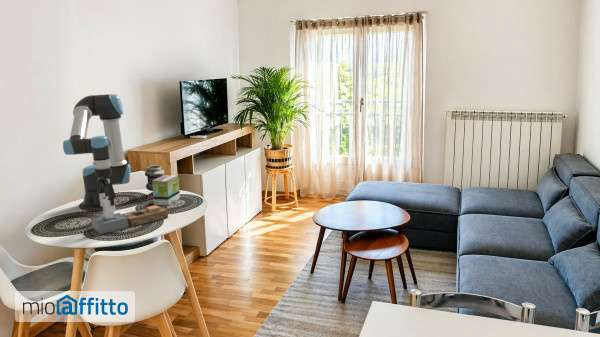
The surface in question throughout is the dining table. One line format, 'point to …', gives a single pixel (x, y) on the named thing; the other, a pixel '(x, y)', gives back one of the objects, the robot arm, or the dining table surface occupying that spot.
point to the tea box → (166, 189)
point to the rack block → (109, 224)
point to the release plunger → (152, 208)
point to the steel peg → (107, 209)
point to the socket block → (145, 216)
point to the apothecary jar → (153, 176)
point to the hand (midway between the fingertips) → (108, 208)
